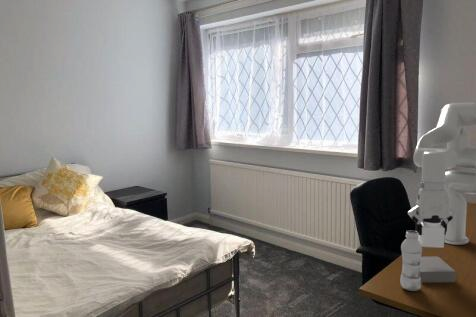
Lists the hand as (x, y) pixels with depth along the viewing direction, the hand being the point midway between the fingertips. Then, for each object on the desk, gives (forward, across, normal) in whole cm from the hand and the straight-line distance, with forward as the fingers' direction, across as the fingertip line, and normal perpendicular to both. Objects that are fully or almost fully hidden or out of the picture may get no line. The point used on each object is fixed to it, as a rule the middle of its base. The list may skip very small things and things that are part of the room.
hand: (430, 233), depth 139 cm
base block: (+16, 0, 0) cm, 16 cm away
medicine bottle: (+4, 0, 0) cm, 4 cm away
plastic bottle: (+16, -11, -11) cm, 22 cm away
